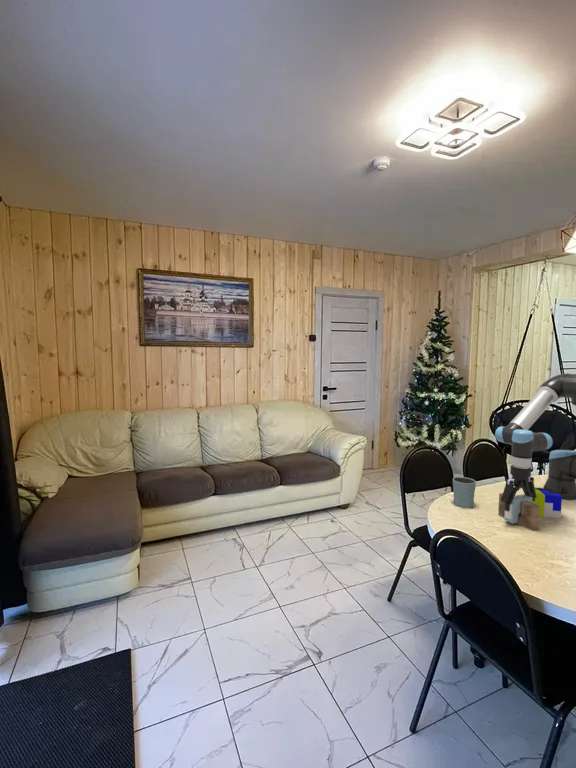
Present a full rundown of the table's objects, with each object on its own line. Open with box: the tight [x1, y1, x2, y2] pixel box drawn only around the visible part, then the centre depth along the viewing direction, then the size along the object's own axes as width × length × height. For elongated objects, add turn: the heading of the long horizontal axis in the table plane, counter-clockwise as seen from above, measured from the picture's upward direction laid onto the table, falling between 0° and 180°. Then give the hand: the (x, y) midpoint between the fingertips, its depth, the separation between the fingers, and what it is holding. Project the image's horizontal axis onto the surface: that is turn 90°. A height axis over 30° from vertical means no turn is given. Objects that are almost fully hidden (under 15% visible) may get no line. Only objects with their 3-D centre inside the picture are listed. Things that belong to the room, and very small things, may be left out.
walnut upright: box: [497, 492, 540, 531], centre depth 162 cm, size 16×4×10 cm, turn 21°
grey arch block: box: [503, 493, 532, 524], centre depth 162 cm, size 11×4×10 cm, turn 111°
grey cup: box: [452, 476, 477, 509], centre depth 181 cm, size 10×10×12 cm
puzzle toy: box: [532, 487, 563, 519], centre depth 172 cm, size 10×10×10 cm
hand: (517, 516), depth 163 cm, fingers closed on grey arch block, 11 cm apart
